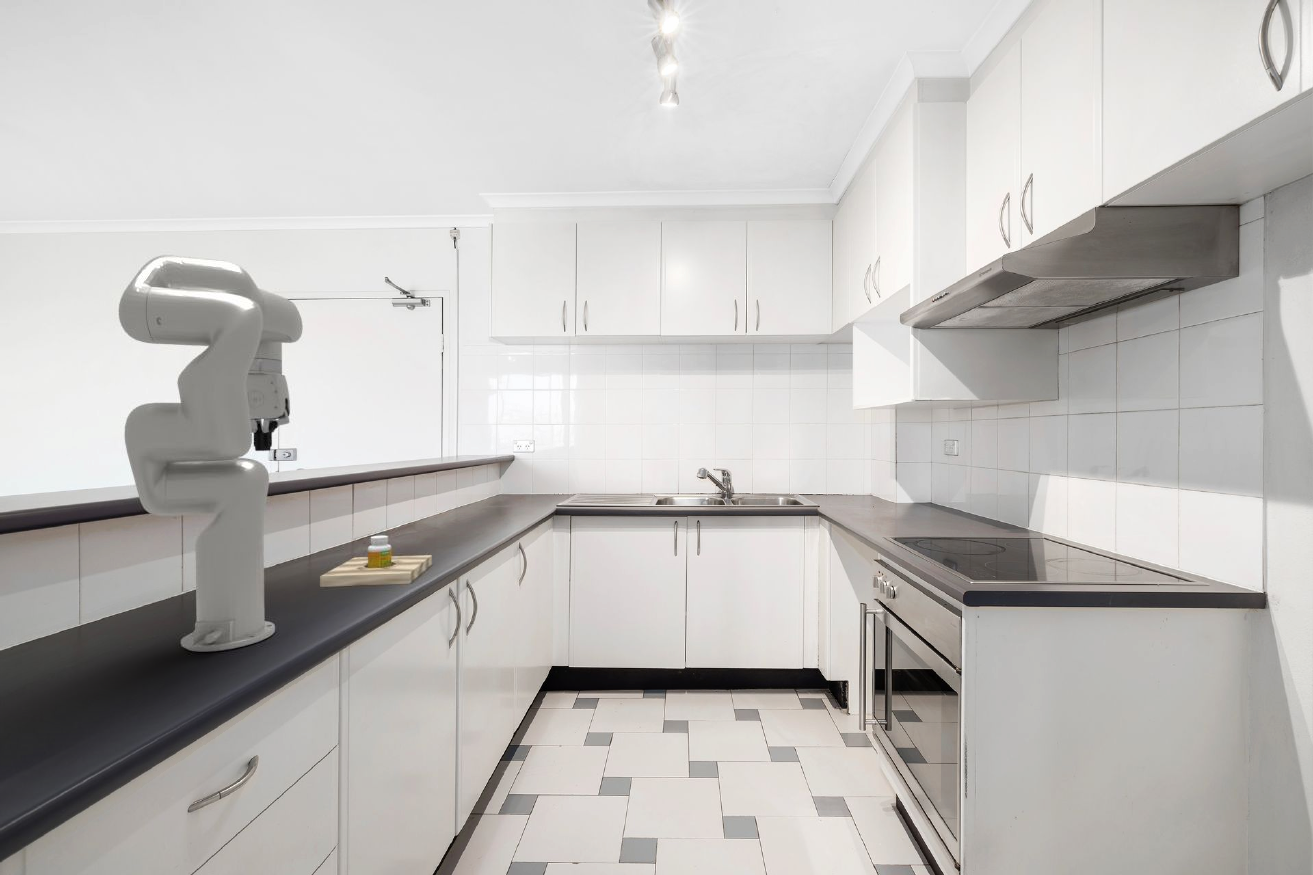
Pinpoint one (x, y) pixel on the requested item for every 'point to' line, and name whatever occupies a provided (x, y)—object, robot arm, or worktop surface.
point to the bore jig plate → (376, 572)
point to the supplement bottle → (379, 552)
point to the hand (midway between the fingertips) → (262, 450)
